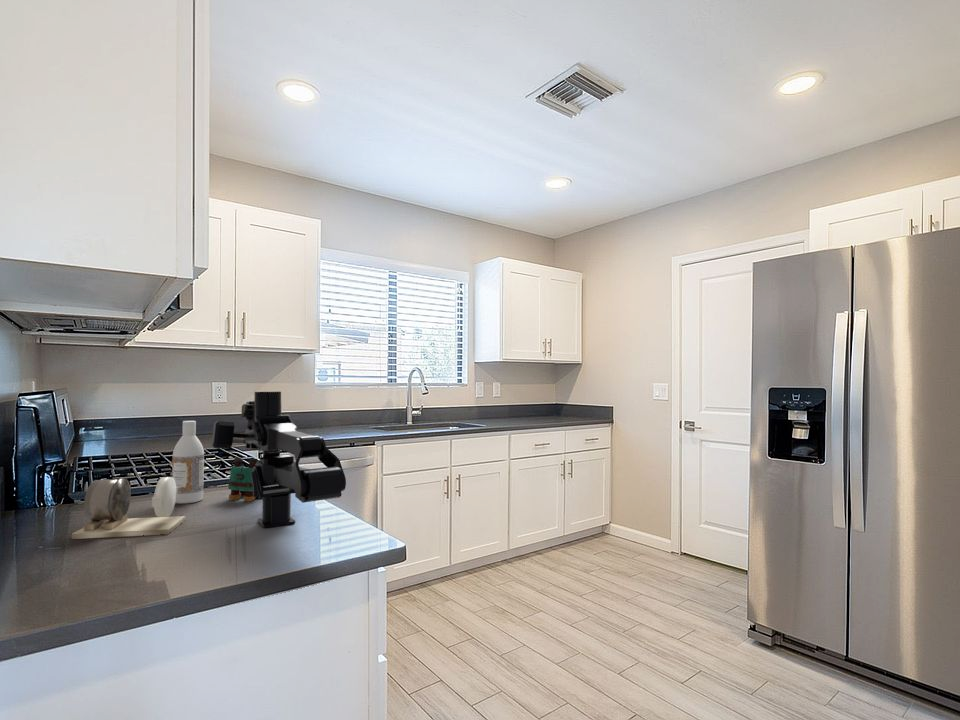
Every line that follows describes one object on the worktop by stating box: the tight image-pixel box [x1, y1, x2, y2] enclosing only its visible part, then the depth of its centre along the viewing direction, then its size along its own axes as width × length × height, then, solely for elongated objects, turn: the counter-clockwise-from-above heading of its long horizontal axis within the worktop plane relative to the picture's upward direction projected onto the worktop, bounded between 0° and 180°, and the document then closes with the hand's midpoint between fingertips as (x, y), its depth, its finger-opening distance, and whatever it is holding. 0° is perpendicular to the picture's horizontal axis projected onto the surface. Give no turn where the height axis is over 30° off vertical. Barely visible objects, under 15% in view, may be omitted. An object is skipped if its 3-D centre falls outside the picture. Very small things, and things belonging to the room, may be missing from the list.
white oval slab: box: [151, 476, 178, 517], centre depth 111 cm, size 2×10×8 cm, turn 12°
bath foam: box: [171, 420, 205, 505], centre depth 134 cm, size 7×7×20 cm
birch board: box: [71, 514, 186, 540], centre depth 109 cm, size 17×10×2 cm, turn 102°
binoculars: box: [228, 456, 258, 502], centre depth 138 cm, size 9×11×10 cm
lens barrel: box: [83, 477, 132, 522], centre depth 108 cm, size 5×8×8 cm, turn 12°
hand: (246, 436), depth 135 cm, fingers open, 9 cm apart
